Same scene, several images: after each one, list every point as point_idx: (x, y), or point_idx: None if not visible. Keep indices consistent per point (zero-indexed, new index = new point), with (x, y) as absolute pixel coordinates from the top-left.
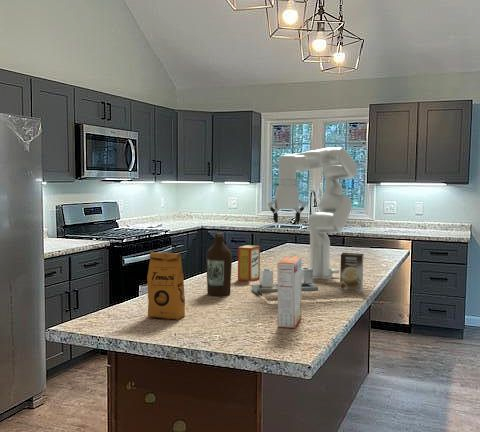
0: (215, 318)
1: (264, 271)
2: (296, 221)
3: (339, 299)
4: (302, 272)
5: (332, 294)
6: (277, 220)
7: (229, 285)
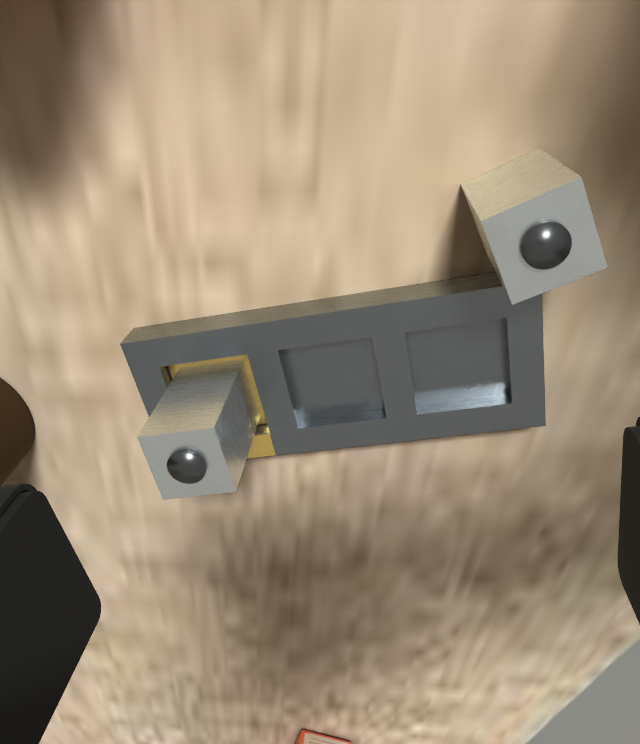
0: (82, 721)
1: (176, 495)
2: (624, 518)
3: (600, 538)
4: (499, 274)
5: (613, 437)
6: (77, 648)
7: (8, 471)
